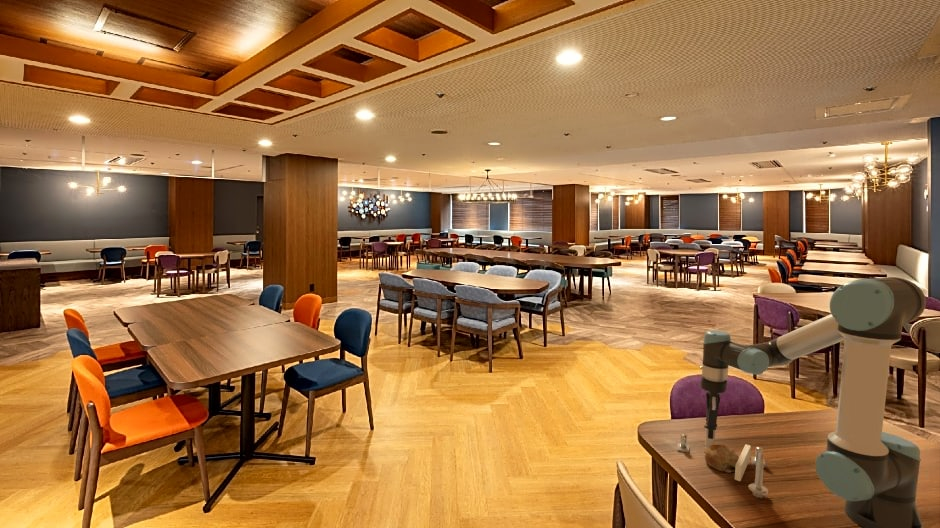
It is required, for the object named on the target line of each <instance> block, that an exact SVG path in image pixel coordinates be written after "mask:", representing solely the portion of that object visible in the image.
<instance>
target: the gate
mask: <svg viewBox="0 0 940 528" xmlns="http://www.w3.org/2000/svg"><path fill="white" fill-rule="evenodd" d="M751 449H752V446H751V445H749V444H747V443H746V444H744V447H743V449H742V451H741V453H740V454H739V456H738V457H739V459H738V461H737V463H736V466H735V471H734V480H735V481H738V482H741V481H742V479H743V476H744V474H745V471H746V470H747V467H748V465H749V462H750V460H751Z"/></svg>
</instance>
